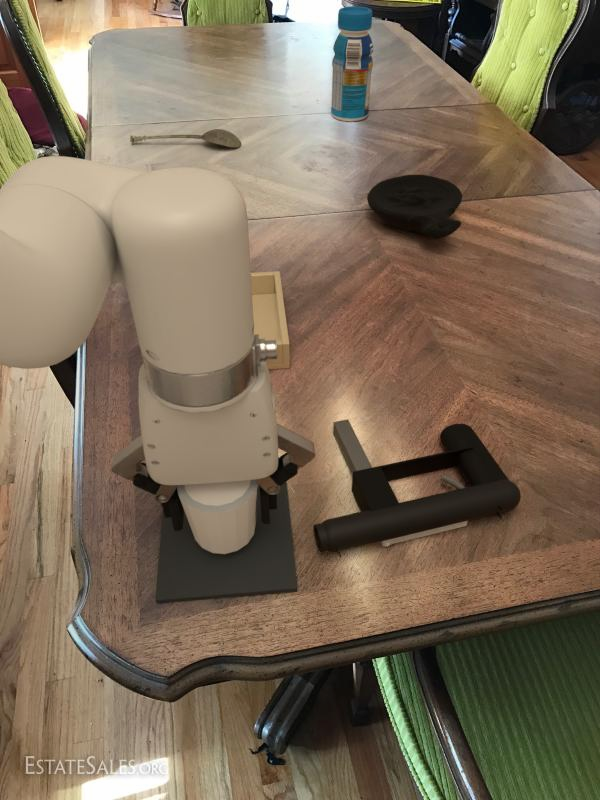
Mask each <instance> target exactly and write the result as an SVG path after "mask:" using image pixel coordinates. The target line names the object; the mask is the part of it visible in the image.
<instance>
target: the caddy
mask: <svg viewBox="0 0 600 800" xmlns="http://www.w3.org/2000/svg"><path fill="white" fill-rule="evenodd" d="M251 283H252V303H253V319H254V335H257V334H259V339H264V338H265V340H276V347H277V359H271V360H266V364H267V367H268V370H282V369H290V363H291V362H290V361H291V360H290V359H291V358H290V354H291V353H290V352H291V351H290V338H289V330H288V323H287V322H288V321H287V315H286V307H285V300H284V293H283V285H282V278H281V271H279V270H276V271H259V272H257V271H256V272H251Z"/></svg>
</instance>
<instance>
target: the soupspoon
mask: <svg viewBox="0 0 600 800" xmlns="http://www.w3.org/2000/svg"><path fill="white" fill-rule="evenodd" d="M156 139H195V140H202V141H205V142H208V143H212V144H216V145H220V146H225V147H227V148H240V147H241V146H242V142H241V140H240V139H239V138H238V137H237V136H236V135H235V134H234V133H233V132H231V131H229V130H226V129H223V128H222V129H221V128H214V129H211V130H208V131H206V132H204V133H203V134H164V135H161V134H160V135H143V136H142V135H138V136H135V135H134V136H133V135H130V136H129V141H130V143H131V145H135V143H137V142H142V141H143V140H144V141H146V140H156Z"/></svg>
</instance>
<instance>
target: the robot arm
mask: <svg viewBox="0 0 600 800" xmlns="http://www.w3.org/2000/svg"><path fill="white" fill-rule="evenodd" d="M249 234H250V233H249V218H248V211H247V204H246V202H245V198H244V196H243V194H242V192H241V191H240V189H239V188H238V186H237V185H236V184H235V183H234V182H233V181H232V180H230V179H229V178H227V176H224V175H223V174H221V173H219V172H216V171H214V170H210V169H206V168H200V167H191V166H189V167H188V166H180V167H179V166H178V167H166V168H160V169H156V170H151V171H147V170H140V169H133V168H128V167H123V166H118V165H113V164H108V163H103V162H99V161H94V160H90V159H84V158H78V157H74V156H73V157H72V156H65V155H49V156H43V157H38V158H34V159H32V160H29V161H27V162H25V163H23V164H22V165H21V166H19V167H18V168H17V169H16V170H15V171H14V172H12V174H11V175H10V176H9V177H8V179H7V180H6V181H5V182H4V183H3V185H2V186H1V187H0V365H1V366H4V367H7V368H15V369H22V370H23V369H24V370H31V369H43V368H48V367H51V366H54V365H58V364H59V363H62V362H63V361H64V360H66V359H68V358H70V357H72V355H74V354H75V353H76V352H77V351H78V350H79V349H80V348H81V347H82V346H83V345H84V343H85V342H86V340H87V339H88V338H89V335H90V333H91V332H92V329H93V328H94V326H95V323H96V322H97V319H98V316H99V315H100V312H101V309H102V306H103V305H104V302H105V299H106V296H107V293H108V290H109V288H110V287H111V286H112V285H113V284H118V283H119V284H122V285H123V287H125V288H126V293H127V296H128V301H129V305H130V306H129V307H130V310H131V314H132V315H131V316H132V318H133V324H134V327H135V332H136V336H137V341H138V344H139V345H138V346H139V348H140V349H139V350H140V354H141V358H142V362H143V363H142V364H141V366H140V367H139V371H138V381H137V382H138V383H137V386H138V387H137V388H138V415H139V425H140V433H141V434H140V435H138V437H136V438H135V439H134V440H132V441H131V442H130V443H128V444H127V445H125V446H124V447H123V448H121V449H120V450H119V451H117V452H116V453H114V455H113V456H112V460H111V467H110V470H111V472H112V473H114V474H115V475H118V476H120V477H122V478H123V479H125V480H127V481H132V485H133V486H135V487H136V488H138V489H140V490H143V491H145V492H147V493H149V494H152V495H154V501H155V502H157V503H159V504H161V507H162V512H164V516H165V518H168V517H171V519H172V524H173V528H174V531H181V529H183V518H184V508H183V506H182V503H181V500H180V498H179V495H178V490H177V486H178V485H191V484H206V483H220V482H233V481H244V480H255V481H256V482H257V483H258V484H259V488H260V504H261V519H262V523H264V524H270V515H269V510H272V509H277V493H279V492H280V486H281V485H282V484H284V483H285V482H289V481H290V480H291V479H292V478H294V477H295V476H296V475H298V473H299V470H300V469H301V468H304V467H305V466H306V465H307V464H308V463H310V462H311V461H312V460H314V459H315V457H316V450H315V444H314V442H313V441H312V440H310V439H308V438H306V437H305V436H302V435H300V434H298V433H297V432H294V431H293V430H290V429H289V428H286V427H285V426H283V425H281V424H279V423H278V420H277V419H278V418H277V412H276V411H277V410H276V401H275V392H274V388H273V387H274V386H273V381H272V378H271V375H270V371H269V370H270V369H268V367H267V364H266V360H271V359H277V347H276V340H265V338H264V339H259V334H257V335H254V319H253V303H252V283H251V273H252V267H251V252H250V235H249ZM279 450H281V451H283V452H284V454H281V455H280V456H279ZM144 460H145V462H142V461H144Z"/></svg>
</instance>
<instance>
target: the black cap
mask: <svg viewBox="0 0 600 800" xmlns="http://www.w3.org/2000/svg"><path fill="white" fill-rule="evenodd" d="M366 199H367V204H368V206H369V208H370V209H371V211H372V212H373V213H374V214H375V215H376V217H378V218H379V219H380V220H381V221H383V222H385V223H386V224H389V225H391V226H393V227H395V228H398V229H401V230H405V231H409V232H414V233H419V234H420V235H424V236H426V237H428V238H430V239H432V240H433V239H435V240H439V239H443V238H447V237H448V236H450V235H452V234H454V233H455V232H457V230H458V229H459V228H460V227H461V225H462V222H461V221H460V220H454V219H451V217H452V216H453V215H454V214H455V213H456V211H457V209H458V208H459V206H460V205H461V203H462V201H463V193H462V191H461V189H460V188H459V187H458V186H457V185H456V184H454V183H452V182H451V181H450V180H448V179H444V178H439V177H437V176H433V175H426V174H405V175H398V176H395V177H389V178H386V179H384V180H381V181H380V182H378V183H376V184H375V185H374V186H372V188H371V189H370V191H368V193H367V196H366Z"/></svg>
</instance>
